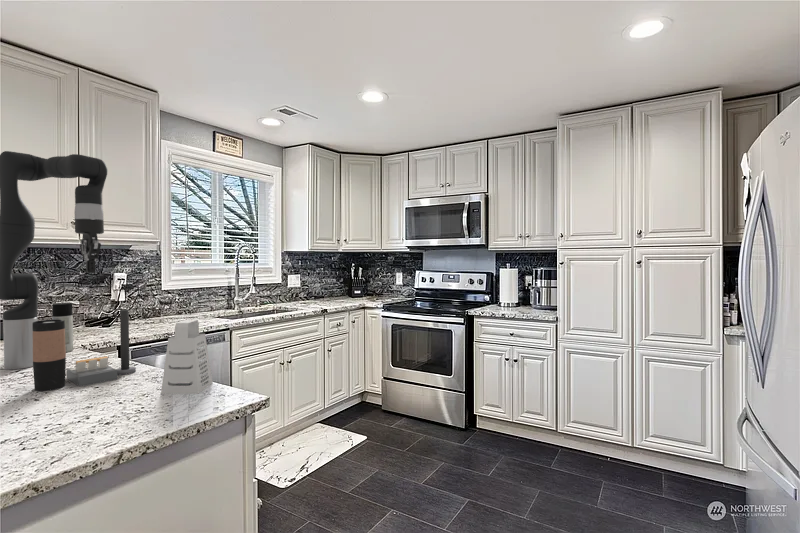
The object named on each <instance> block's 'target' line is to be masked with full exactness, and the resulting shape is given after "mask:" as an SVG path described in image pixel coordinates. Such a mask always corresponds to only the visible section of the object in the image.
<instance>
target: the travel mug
mask: <svg viewBox="0 0 800 533" xmlns="http://www.w3.org/2000/svg"><path fill="white" fill-rule="evenodd" d="M32 329H33V366H32V369H33V384H34V385H33V386H34V391H35V392H49V391H55V390H59V389H61V388H64V387H65V386H66V375H67V373H66V369H67V368H66V367H67V366H66V363H67V356H66V354H67V352H66V348H65V320H64V321H61V320H58V319H56V320H52V319H44V320H37V321H36V322H33V323H32Z"/></svg>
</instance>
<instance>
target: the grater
mask: <svg viewBox="0 0 800 533" xmlns="http://www.w3.org/2000/svg"><path fill="white" fill-rule="evenodd" d="M199 323H200V322H199V321H198V320H197V319H192V320H191V319H186V320H185V319H184V320H181V321H178V322H176V323H175V325H174V336H170V337H168V339H167V346H166V353H165V361H164V368H163V373H162V374H163V375H162V383H161V390H160V395H198V394H201V393H202V392H203V391H204V390H206V388H208V387H209V386H211V385H213V382H214V381H213V375H212V369H211V365H210V364H211V363H210V358H209V349H208V345H207V339H206V333H199V332H200V326H199ZM178 384H190V385H178Z"/></svg>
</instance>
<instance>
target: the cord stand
mask: <svg viewBox="0 0 800 533" xmlns="http://www.w3.org/2000/svg"><path fill="white" fill-rule="evenodd" d="M129 315H130V314H129V309H121V310H120V311H119V319H120V320H119V322H120V325H119V327H120V367H119V368H115V369H116V370H117V376H125V375H131V374H134V373H136V367H135V366H130V327H129V326H130V324H129V323H130V318H129V317H130V316H129Z"/></svg>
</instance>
